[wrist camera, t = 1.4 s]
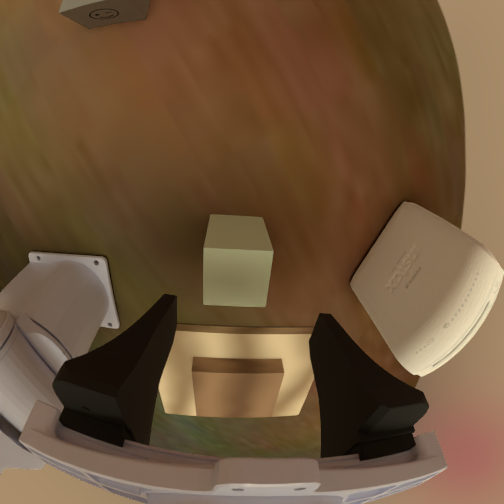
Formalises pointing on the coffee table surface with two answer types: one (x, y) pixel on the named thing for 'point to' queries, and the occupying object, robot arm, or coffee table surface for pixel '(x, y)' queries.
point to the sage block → (236, 261)
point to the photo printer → (426, 287)
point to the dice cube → (104, 11)
